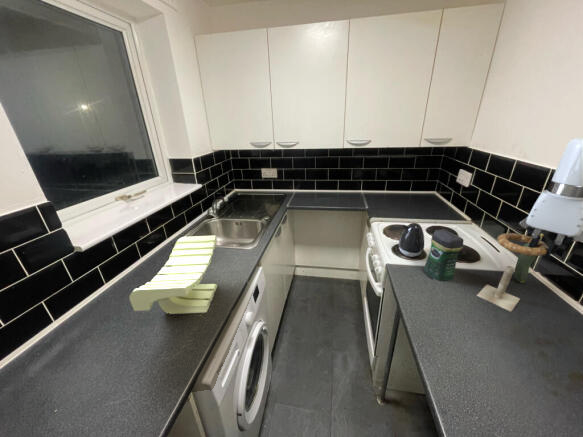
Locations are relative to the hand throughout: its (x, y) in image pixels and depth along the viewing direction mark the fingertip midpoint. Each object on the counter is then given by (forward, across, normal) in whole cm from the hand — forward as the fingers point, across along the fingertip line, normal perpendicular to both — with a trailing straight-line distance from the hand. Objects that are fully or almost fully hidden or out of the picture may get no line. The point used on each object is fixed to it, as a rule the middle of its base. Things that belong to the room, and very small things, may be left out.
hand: (540, 251), depth 65 cm
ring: (-1, +4, 0) cm, 4 cm away
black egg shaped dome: (+22, +37, -5) cm, 43 cm away
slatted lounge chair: (+22, +70, +83) cm, 111 cm away
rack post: (+21, +4, -1) cm, 22 cm away
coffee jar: (+22, +22, +1) cm, 31 cm away
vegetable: (+22, +3, -18) cm, 28 cm away
